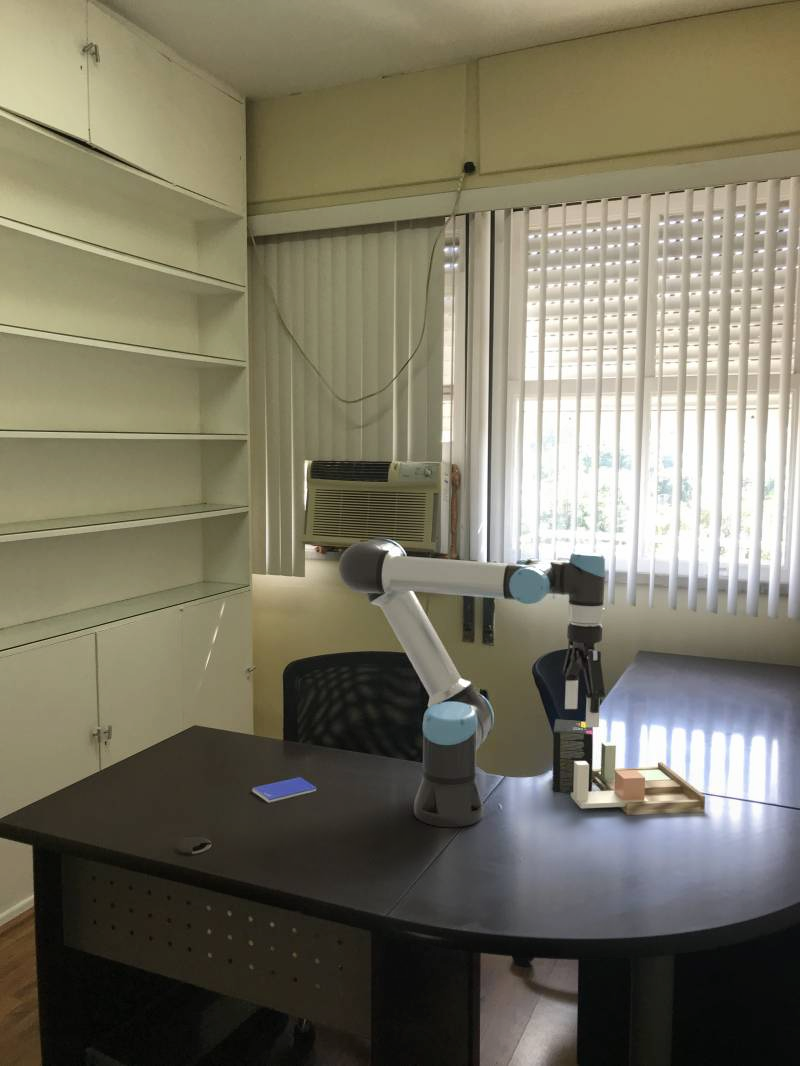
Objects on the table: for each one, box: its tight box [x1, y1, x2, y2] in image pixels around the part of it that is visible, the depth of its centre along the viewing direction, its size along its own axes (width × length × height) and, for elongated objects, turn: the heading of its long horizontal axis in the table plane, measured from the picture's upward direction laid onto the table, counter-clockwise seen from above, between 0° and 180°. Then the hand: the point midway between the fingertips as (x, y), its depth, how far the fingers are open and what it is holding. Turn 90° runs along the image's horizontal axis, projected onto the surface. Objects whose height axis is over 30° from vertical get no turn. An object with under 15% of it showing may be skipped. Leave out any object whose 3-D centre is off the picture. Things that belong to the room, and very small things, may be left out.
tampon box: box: [551, 718, 594, 794], centre depth 205 cm, size 11×9×15 cm
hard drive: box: [251, 776, 317, 803], centre depth 200 cm, size 2×8×12 cm
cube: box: [614, 770, 645, 800], centre depth 193 cm, size 5×5×5 cm
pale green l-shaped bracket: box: [598, 741, 671, 783], centre depth 205 cm, size 16×7×9 cm, turn 98°
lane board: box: [592, 761, 706, 816], centre depth 200 cm, size 18×22×4 cm
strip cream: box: [570, 761, 649, 809], centre depth 192 cm, size 16×7×9 cm, turn 98°
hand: (581, 717), depth 190 cm, fingers open, 13 cm apart
